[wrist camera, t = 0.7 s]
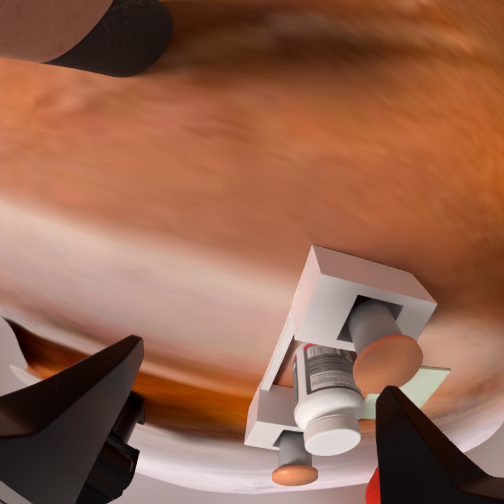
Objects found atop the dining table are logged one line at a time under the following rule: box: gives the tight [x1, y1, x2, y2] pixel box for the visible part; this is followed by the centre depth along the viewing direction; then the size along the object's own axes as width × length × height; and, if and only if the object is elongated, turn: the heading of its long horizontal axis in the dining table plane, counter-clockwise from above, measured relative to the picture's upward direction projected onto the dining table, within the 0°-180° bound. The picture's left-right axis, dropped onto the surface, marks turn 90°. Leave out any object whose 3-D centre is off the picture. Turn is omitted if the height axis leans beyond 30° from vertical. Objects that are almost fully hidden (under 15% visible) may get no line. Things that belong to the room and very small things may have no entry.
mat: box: [360, 366, 450, 419], centre depth 26 cm, size 9×9×1 cm
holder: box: [244, 245, 437, 450], centre depth 22 cm, size 20×9×5 cm, turn 166°
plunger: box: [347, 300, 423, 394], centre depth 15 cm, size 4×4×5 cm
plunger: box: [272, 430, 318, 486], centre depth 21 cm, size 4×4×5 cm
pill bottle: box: [293, 342, 364, 456], centre depth 20 cm, size 5×5×10 cm
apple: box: [365, 467, 380, 504], centre depth 27 cm, size 10×10×12 cm
